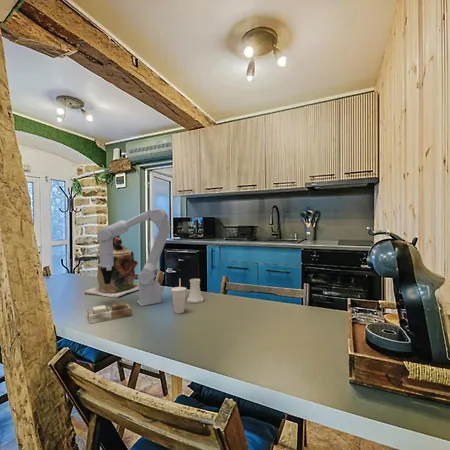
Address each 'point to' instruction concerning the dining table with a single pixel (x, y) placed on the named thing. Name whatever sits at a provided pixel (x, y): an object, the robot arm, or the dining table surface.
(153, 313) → the dining table surface
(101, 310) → the cream block
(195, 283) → the vase
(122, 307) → the walnut block
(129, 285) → the cookie jar
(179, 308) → the smoothie
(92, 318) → the lane rack
